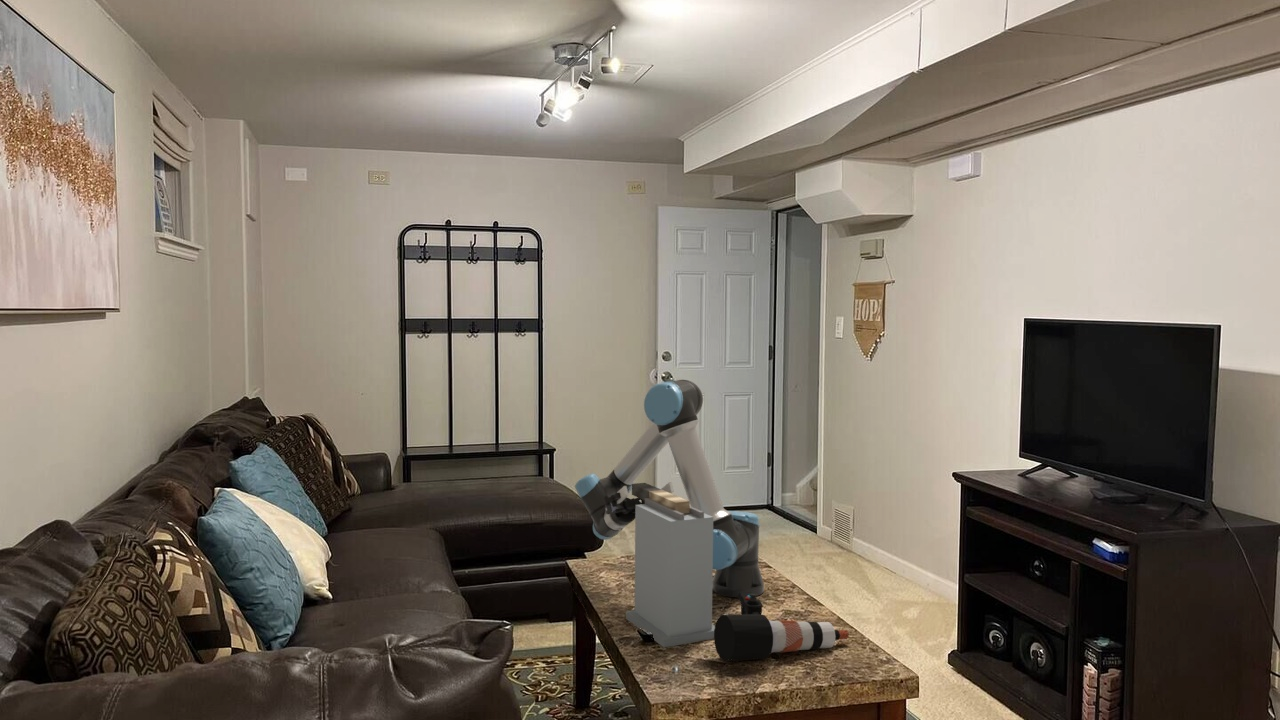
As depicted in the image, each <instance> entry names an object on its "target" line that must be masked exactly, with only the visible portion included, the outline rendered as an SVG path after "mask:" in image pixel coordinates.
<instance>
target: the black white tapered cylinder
mask: <svg viewBox="0 0 1280 720" xmlns="http://www.w3.org/2000/svg"><path fill="white" fill-rule="evenodd" d="M714 626H715V629H714V639H713V641H714V647H715V650H716V653H717V655H718V657H719V658H720V659H721V660H723V661H747V660H767V659H768V658H769V657H770V656H771V654H772V653H779V654H781V653H787V652H798V651H808V650H817V649H818V650H819V649H831V648H833V646H834V645H835V643H836V641H837V640H847V639H848V638H850V637H849V635H850V634H849V633H850V632H849V631H848V630H847V629H843V630H842V629H841V630H839V629H835V628H834V626H833V624H832V623H831V622H829V621H822V622H821V621H818V622H817V621H806V620H805V621H803V620H802V621H796V620H770V619H768V617H766V615H765V614H747V615H741V614H721V615H720V616H719V617H718V618H717V620H716V621H715V625H714Z"/></svg>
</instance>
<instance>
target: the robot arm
mask: <svg viewBox="0 0 1280 720" xmlns="http://www.w3.org/2000/svg"><path fill="white" fill-rule="evenodd" d="M644 397H645V398H644V399H643V400H644V402H643V409H644V413H645V416H646V417H647V418H648V420H649V421H650V422H652V423H651V424H650V425H649V426H648V428H647V429H646V430H645V431H644V432H643V434H641V436H640V437H639V438H638V440H637V441H635V443H634V444H633V445H632V447H631V448H629V450H628V452H626V454H625V455H624V457H622V458H621V460H620V461H619V462H618V463H617V465H616V466H615V467H614V469H612V471H611V472H610V473H609V474H608V475H607V476H606V477H603V478H599V477H598V476H597V474H595V473H590V474H588V475H585V476H584V477H582V478H580V479H579V480H578V481H576V483H575V485H574V487H575V490H576V492H577V494H578V497H579V498H580V500H581V501H582V503H583V505H584V507H585V508H586V510H587V512H588V514H589V515H590V517H591V519H592V521H593V523H592V532H593V534H594V535H595V536H596V537H597V538H599V539H600V540H604V541H606V540H610V539H612V538H614V537H615V536H616V535H618V534H619V533H620V532H622V530H623V529H624V528H626V527H627V526H628V525H630V524H631V523H632V522H633V521H635V508H636V505H640V504H645V500H643V499H640V498H638V497H636V498H635V497H633V498H629V494H630V492H632V484H635V483H636V482H635V481H637V480H638V478H639V477H640V476H641V474H643V473H644V471H646V469H647V467H649V466H650V465H651V463H652V462H653V461H654V460H655V459H656V458H657V456H658V455H659V454H660V453H661V452H662V450H663V449H664V448H665V447H666V446H667V445H669V448H670V451H671V454H672V456H673V460H674V462H675V465H676V468H677V471H678V473H679V474H678V475H679V477H680V479H681V482H682V485H683V488H684V490H685V491H684V492H685V494H686V496H687V500H688V501H690V506H691V507H693V508H696V509H698V510H700V511H703V512H704V513H705V514H707V515H710V516H712V517H713V570H714V571H715V573H714V574H713V580H712V592H715V593H716V594H718V595H721V596H724V597H729V598H738V596H739V593H740V592H752V593H756V594H757V595H758V596H760V595H762V594H763V593H764V591H765V583H764V579H763V576H762V573H761V570H760V566H759V551H760V549H759V547H760V543H759V542H760V541H759V540H760V538H759V537H760V519H759V516H758V514H755V513H753V512H748V511H739V510H727V509H725V508H724V506H723V502H722V500H721V496H720V494H719V491H718V489H717V485H716V483H715V480H714V477H713V474H712V472H711V469H710V466H709V462H708V459H707V457H706V454H705V452H704V448H703V446H702V443H701V440H700V437H699V435H698V431H697V429H696V426H697V424H698V422H699V419H698V416H697V415H698V414H699V412H701V409H702V407H703V403H704V397H703V393H702V390H701V389H700V387H699V386H698V385H697V384H696V383H695V382H693V381H691V380H688V379H677V380H669V381H663V382H660V383H657V384H655V385H653V386H652V387H651V388H650V389H649V390H648V391H647V393H646V394H645V396H644ZM660 489H661V490H664V491H666V492H668V493H671V494H673V493H674V486H673V482H672V481H669V482H667V484H665V485H664V486H662V487H661V488H660Z"/></svg>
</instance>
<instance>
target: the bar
mask: <svg viewBox="0 0 1280 720" xmlns="http://www.w3.org/2000/svg"><path fill="white" fill-rule="evenodd" d="M661 489H662V488H658V487H656V486H654V485H652V484H649V483H646V482H638V483H637V482H635V483H633V484H632V487H631V496H634V497H636V498H640V499H643V500H645V498H649V499H651V500H654V501H656V502H658V503H660V504H663V505H665V506H667V507H669V508H671V509H674V510H676V511H678V512H680V513H683V514H685V513H690V501H689V500H688V499H685V498H683V497H680V496H679V495H676V494H673V493H668V492H666V491H664V490H661Z"/></svg>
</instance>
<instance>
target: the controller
mask: <svg viewBox="0 0 1280 720" xmlns="http://www.w3.org/2000/svg"><path fill="white" fill-rule="evenodd" d="M758 596H759V595H757V594H756V593H752V592H740V593H739V596H738V597H737V599H738V600H739V603H740V610H741V612H740V615H747V614H761V615H763V614H762V613H763V603H762V601H761V600H760V599H757V597H758Z"/></svg>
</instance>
